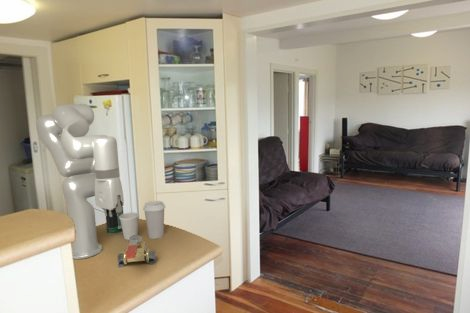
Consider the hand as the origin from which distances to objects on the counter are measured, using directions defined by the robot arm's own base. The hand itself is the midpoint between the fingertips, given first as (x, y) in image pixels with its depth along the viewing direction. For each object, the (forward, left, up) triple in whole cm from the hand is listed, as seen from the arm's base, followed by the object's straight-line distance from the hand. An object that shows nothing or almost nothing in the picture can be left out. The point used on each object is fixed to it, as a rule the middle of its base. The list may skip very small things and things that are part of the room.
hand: (112, 226), depth 114 cm
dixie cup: (0, +33, -18) cm, 37 cm away
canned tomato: (-8, +42, -18) cm, 46 cm away
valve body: (+6, +7, -17) cm, 20 cm away
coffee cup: (+11, +32, -18) cm, 38 cm away
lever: (+6, +1, -9) cm, 11 cm away
